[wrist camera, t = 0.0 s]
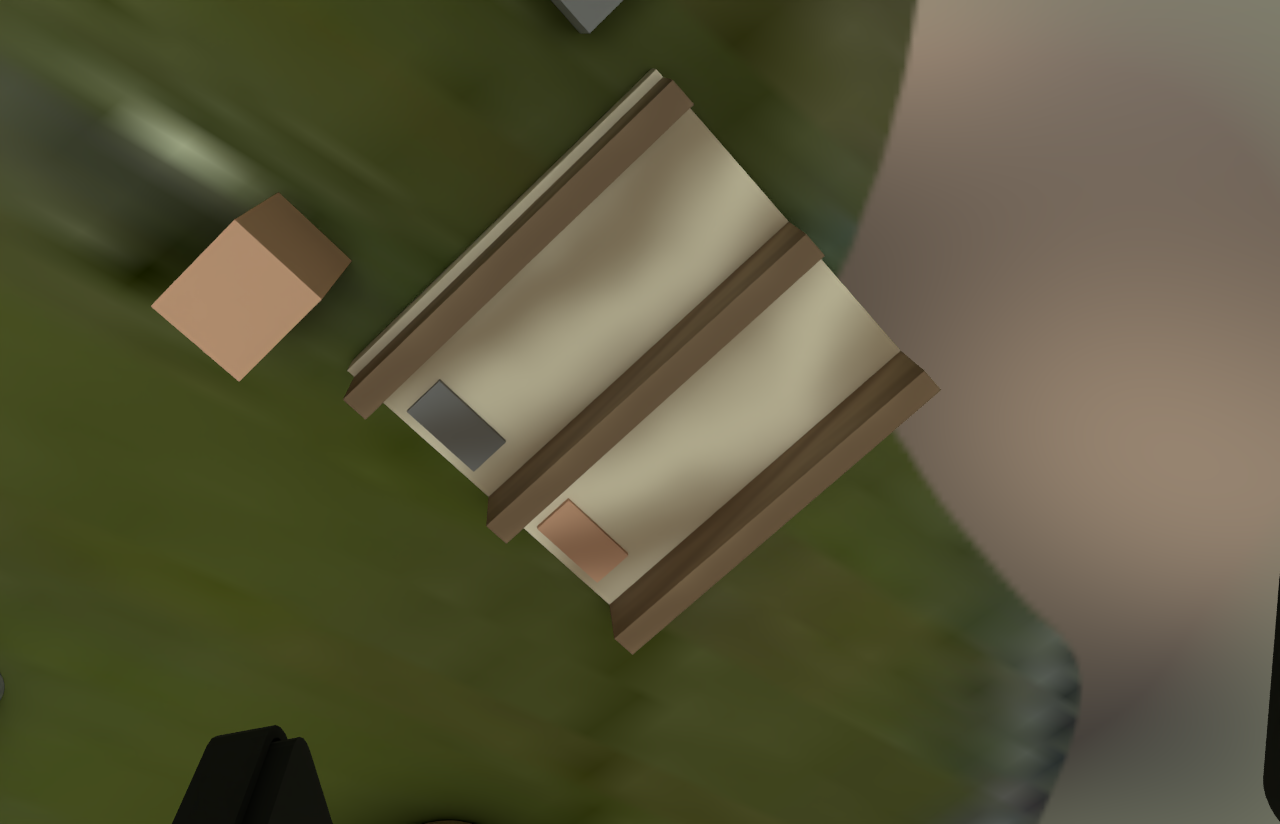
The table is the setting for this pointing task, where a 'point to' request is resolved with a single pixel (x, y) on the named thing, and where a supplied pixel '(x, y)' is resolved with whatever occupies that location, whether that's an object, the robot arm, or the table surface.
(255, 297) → the terracotta plug block
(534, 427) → the cream shelf rack
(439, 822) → the plant pot
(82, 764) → the table surface
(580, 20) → the grey plug block
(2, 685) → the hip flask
